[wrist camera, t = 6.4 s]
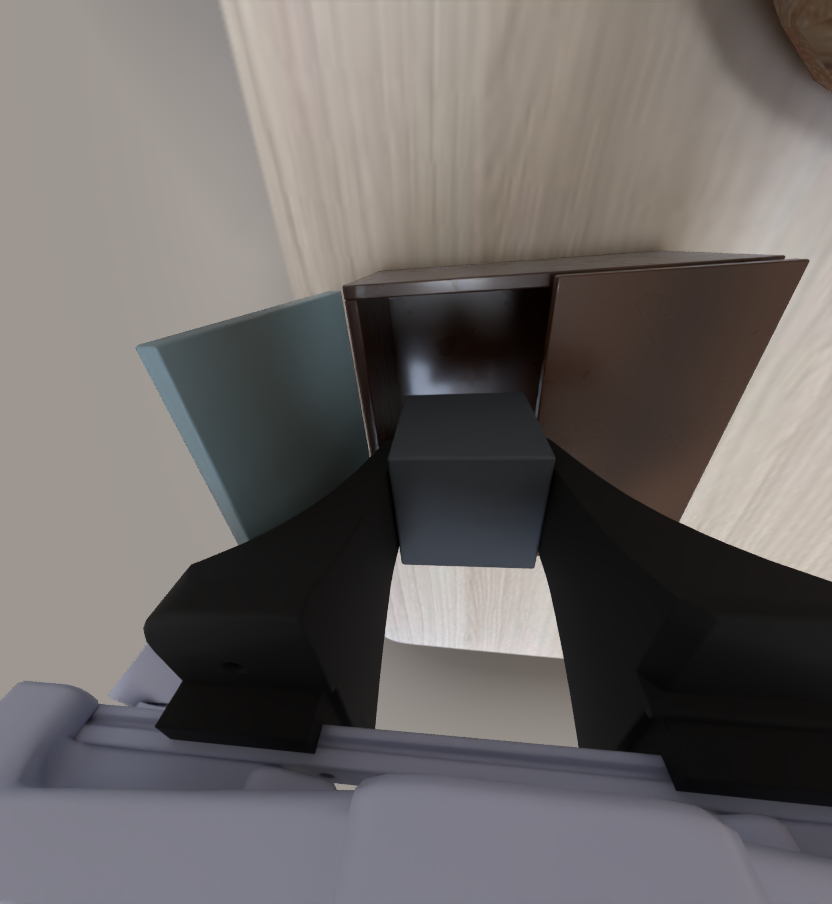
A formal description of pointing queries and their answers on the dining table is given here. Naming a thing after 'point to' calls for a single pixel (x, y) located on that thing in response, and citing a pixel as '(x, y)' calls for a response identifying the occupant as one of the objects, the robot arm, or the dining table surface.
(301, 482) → the door
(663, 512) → the box
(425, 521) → the block
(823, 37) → the bread
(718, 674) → the robot arm
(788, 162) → the dining table surface
